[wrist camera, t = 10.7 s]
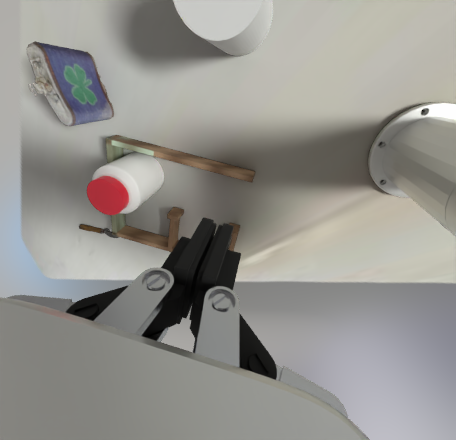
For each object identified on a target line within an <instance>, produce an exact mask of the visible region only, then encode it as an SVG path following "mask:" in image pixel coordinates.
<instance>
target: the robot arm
mask: <svg viewBox="0 0 456 440" xmlns="http://www.w3.org/2000/svg"><path fill="white" fill-rule="evenodd" d="M422 110H423V112H422V113H421V111H422ZM380 142H381V144H380V145H378V144H379V143H380ZM368 168H369V172H370V175H371V177H372V179H373V181H374V182H375V183H376V185H377V186H378V187H379V188H381V189H382V190H383V191H385V192H386V193H389V194H391V195H393V196H397V197H403V198H411V199H412V200H413V201H414V202H416V203H417V204H418V205H419V206H420V207H421V208H423V209H424V210H425V211H426V212H427V213H429V214H430V215H431V216H432V217H433V218H434V219H436V220H437V221H438V222H439V223H440V224H441V225H443V226H444V227H445V228H446V229H447V230H449V231H450V232H451V233H452V234H453V235H455V236H456V104H455V103H448V102H433V103H426V104H422V105H419V106H416V107H413V108H411V109H409V110H407V111H405V112H403V113H401V114H400V115H398V116H397V117H395V118H394V119H393V120H391V121H390V122H389V123H388V124H387V125H386V126H385V127H384V128H383V129H382V131H381V132H380V133H379V134H378V136H377V137H376V139H375V141H374V143H373V144H372V147H371V150H370V153H369V159H368ZM381 180H382V181H381ZM380 181H381V182H380ZM233 227H234V226H232V225H228V224H225V223H224V224H223V226H222V225H219V227H218V229H217V231H216V234H215V229H216V224H215V223H213V220H211V219H207V218H203V219H202V221H201V222H200V224H199V226H198V227H197V229H196V231H195V232H194V234H193V236H192V238H191V239H189V238H186V237H181V238H180V240H179V241H178V243H177V244H176V246H175V247H174V249H173V251H172V252H171V254H170V255H169V257H168V258H167V260H166V261H165V263H164V264H163V266H162V267H161V268H150V269H148V270H145V271H144V272H143V273H141V274H140V275H139V276H138V277H137V278H136V279H135V280H134V281H133V282H132V283H131V284H130V285H129V286H125V287H122V288H118V289H115V290H112V291H108V292H105V293H102V294H98V295H95V296H92V297H88V298H84V299H82V300H79V301H77V302H72V300H71V299H61V298H50V297H49V298H48V297H37V296H26V295H15V296H11V297H8V298H0V440H369V438H368V437H367V436H366V435H365V434H364V433H363V432H362V431H361V430H360V429H359V428H358V427H357V426H356V425H355V424H354V423H353V422H352V421H351V420H350V419H348V416H347V412H346V410H345V408H344V406H343V404H342V403H341V402H340V400H339V399H338V398H337V397H336V396H334V395H333V394H332V393H330V392H329V391H327V390H325V389H323V388H322V387H320V386H318V385H316V384H315V383H313V382H311V381H309V380H308V379H306V378H304V377H302V376H301V375H299V374H297V373H295V372H294V371H292V370H290V369H288V368H287V367H285V366H283V368H281V367H279V366H278V365H276V364H275V362H274V360H273V359H272V357H271V356H270V354H269V353H268V351H267V350H266V349H265V347H264V346H263V345H262V343H261V342H260V340H259V339H258V338H257V336H256V335H255V334H254V332H253V331H252V330H251V328H250V327H249V326H248V324H247V323H246V321H245V320H244V319H243V317H242V316H241V315H240V313H239V298H238V296H237V295H236V293H235V292H234V291H233V286H234V282H235V278H236V274H237V269H238V265H239V261H240V256H241V253H238V252H234V251H231V250H228V247H229V243H230V239H231V235H232V231H233ZM214 234H215V236H214ZM191 306H192V308H191ZM190 308H191V314H190V320H191V326H190V329H191V331H192V333H193V335H194V337H195V342H194V348H193V352H189V351H186V350H183V349H180V348H177V347H173V346H170V345H167V344H164V343H161V341H162V339H163V338H164V336H165V335H166V333H167V331H168V327H171V326H173V325H175V324H176V323H177V324H180V322H181V319H182V317H183V318H186V317H187V316H188V313H189V311H190Z"/></svg>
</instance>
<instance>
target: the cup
mask: <svg viewBox="0 0 456 440" xmlns="http://www.w3.org/2000/svg"><path fill="white" fill-rule="evenodd" d="M173 2H174V5H175V7H176V10H177V12H178V14H179V16H180V17H181V19H182V20H183V22H184V23H185V24H186V25H187V27H188V28H189V29H190V30H191V31H193V32H194V33H195V34H197V35H198V36H200V37H202V38H203V39H205V40H206V41H208V42H209V43H211V44H213V45H214V46H216V47H217V48H219V49H221V50H222V51H224V52H225V53H227V54H230V55H233V56H243V55H247V54H249V53H251V52H253V51H254V50H256V49H257V48H258V47H259V46H260V45H261V44H262V43H263V41H264V40H265V38H266V36H267V34H268V32H269V30H270V27H271V23H272V18H273V2H272V0H173Z"/></svg>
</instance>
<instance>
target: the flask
mask: <svg viewBox="0 0 456 440" xmlns="http://www.w3.org/2000/svg"><path fill="white" fill-rule="evenodd" d="M27 55H28V58H29V60H30V63H31V66H32V68H33V72H34V74H35V77H36V78H35V83H36V84H34V83H33V86H34V88H35V91H36V92H37V93H38V94H44V95H45V97H46V99H47V100H48V102H49V104H50V106H51V107H52V109H53V110H54V112H55V114H56V115H57V117H58V118H59V119H60V121H61V122H62V123H63V124H65V125H66V126H74V125H79V124H84V123H89V122H95V121H101V120H107V119H111V118H112V117H113V116H114V112H113V107H112V104H111V103H110V101H109V99H108V96H107V92H106V89H105V86H104V85H103V84H102V82H101V81H100V76H99V74H98V72H97V67H96V65H95V62H94V58H93V57H92V56H91V55H90V54H89V53H88V52H83V51H80V50H74V49H69V48H64V47H58V46H54V45H49V44H44V43H39V42H33V43H31V44H29V45H28V47H27ZM28 85H29V89H30V91H32V92H33V91H34V90H33V88H32V84H28ZM34 95H35V96H37V95H36V94H34Z"/></svg>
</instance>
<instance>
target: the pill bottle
mask: <svg viewBox="0 0 456 440" xmlns="http://www.w3.org/2000/svg"><path fill="white" fill-rule="evenodd" d="M163 182H164V173H163V169H162V167H161V165H160V164H159V162H158V161H157V160H156V159H155V158H154V157H153V156H151V155H147V154H144V153H140V152H133V153H130V154H128V155H126V156H124V157H121V158H119V159H117V160H115V161H113V162H110V163H108V164H106V165H104V166H102V167H100V168H98V169H97V170H96V171H95V173H94V175H93V178H92V181H91V182H90V183H89V184H88V186H87V195H88V198H89V200H90V202H91V204H92V205H93V206H94V207H95V208H96V209H97V210H99V211H100V212H102V213H104V214H107V215H116V214H118V213H121V214H126V213H131V212H133V211H134V210H136V209H137V208H138V207H139V206H140V205H142V204H143V203H144V202H145V201H146V200H147V199H149V198H150V197H151V196H152V195H153V194H154V193H156V192H157V191H158V190H159V189H160V188H161V187H162V185H163Z"/></svg>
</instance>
